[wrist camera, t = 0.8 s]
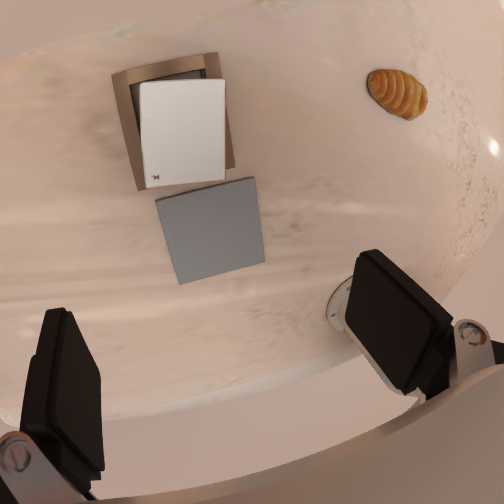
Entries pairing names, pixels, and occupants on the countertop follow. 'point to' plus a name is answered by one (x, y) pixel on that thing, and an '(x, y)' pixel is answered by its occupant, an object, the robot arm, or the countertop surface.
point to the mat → (212, 229)
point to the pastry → (398, 93)
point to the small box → (183, 131)
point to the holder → (125, 79)
